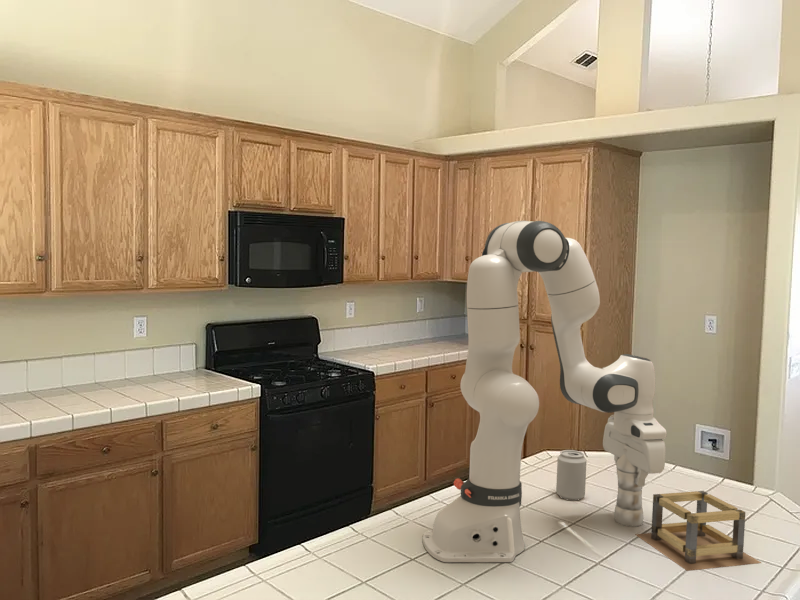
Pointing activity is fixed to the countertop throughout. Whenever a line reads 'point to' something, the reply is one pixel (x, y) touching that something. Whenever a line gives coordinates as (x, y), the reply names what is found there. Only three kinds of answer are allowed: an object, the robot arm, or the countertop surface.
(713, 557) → the walnut board
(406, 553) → the countertop surface
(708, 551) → the frame
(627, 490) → the plastic bottle
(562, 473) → the can
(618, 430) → the robot arm
